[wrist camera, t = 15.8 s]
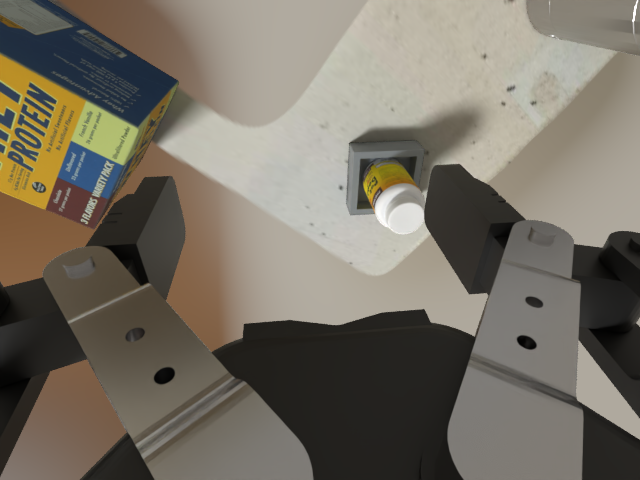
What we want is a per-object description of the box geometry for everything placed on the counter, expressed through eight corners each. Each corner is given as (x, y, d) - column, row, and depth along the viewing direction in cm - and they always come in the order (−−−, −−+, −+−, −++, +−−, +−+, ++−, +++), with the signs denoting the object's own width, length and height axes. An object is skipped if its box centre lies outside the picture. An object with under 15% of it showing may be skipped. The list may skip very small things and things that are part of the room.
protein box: (144, 159, 44) (94, 233, 32) (-10, 81, 38) (-148, 134, 25) (182, 80, 40) (142, 129, 27) (16, -23, 34) (-135, -21, 21)
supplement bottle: (361, 157, 46) (383, 197, 38) (406, 154, 47) (437, 193, 38) (359, 197, 49) (378, 242, 41) (401, 194, 50) (428, 239, 41)
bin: (349, 142, 46) (353, 152, 43) (416, 140, 47) (424, 149, 44) (346, 203, 51) (350, 215, 48) (407, 200, 52) (414, 211, 49)
